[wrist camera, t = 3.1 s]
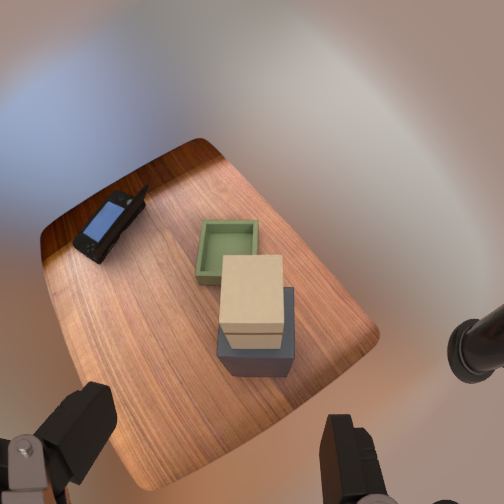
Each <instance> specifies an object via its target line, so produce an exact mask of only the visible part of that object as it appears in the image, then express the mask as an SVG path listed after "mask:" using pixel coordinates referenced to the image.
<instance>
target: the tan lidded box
mask: <svg viewBox="0 0 504 504" xmlns="http://www.w3.org/2000/svg"><path fill="white" fill-rule="evenodd" d="M219 324H220V326H221V328H222V330H223V334H224V335H225V336H226V338H227V340H228V342H229V344H230V346H231V348H232V349H280V348H281V341H282V335H283V327H284V292H283V260H282V255H223V265H222V280H221V296H220V312H219Z"/></svg>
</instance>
